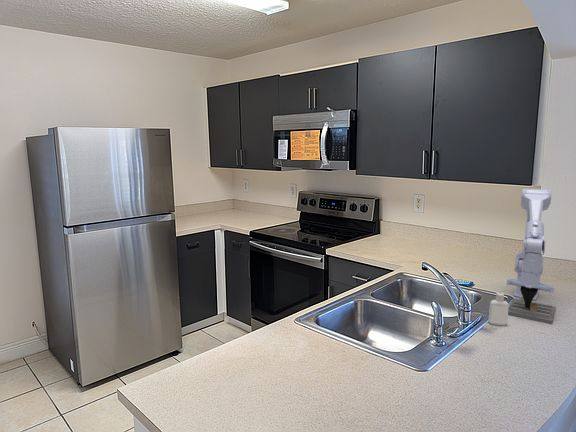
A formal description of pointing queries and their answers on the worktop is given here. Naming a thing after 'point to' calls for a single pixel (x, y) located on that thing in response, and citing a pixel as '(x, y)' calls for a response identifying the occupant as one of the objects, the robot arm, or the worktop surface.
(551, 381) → the worktop surface
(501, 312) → the eye dropper bottle
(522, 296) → the grooved grey cube
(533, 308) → the oak tab
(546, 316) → the switch board
